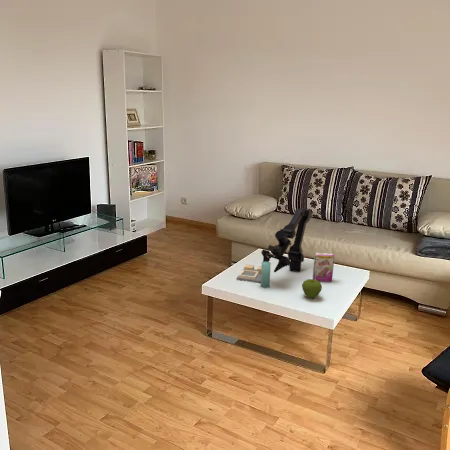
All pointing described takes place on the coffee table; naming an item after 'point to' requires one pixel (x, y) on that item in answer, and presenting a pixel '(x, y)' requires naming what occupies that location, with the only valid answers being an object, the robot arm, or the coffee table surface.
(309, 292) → the apple
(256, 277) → the base board
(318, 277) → the candy bar box
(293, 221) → the robot arm
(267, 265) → the teal column
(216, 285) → the coffee table surface
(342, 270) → the coffee table surface
